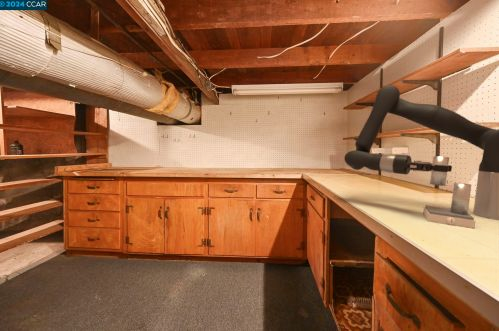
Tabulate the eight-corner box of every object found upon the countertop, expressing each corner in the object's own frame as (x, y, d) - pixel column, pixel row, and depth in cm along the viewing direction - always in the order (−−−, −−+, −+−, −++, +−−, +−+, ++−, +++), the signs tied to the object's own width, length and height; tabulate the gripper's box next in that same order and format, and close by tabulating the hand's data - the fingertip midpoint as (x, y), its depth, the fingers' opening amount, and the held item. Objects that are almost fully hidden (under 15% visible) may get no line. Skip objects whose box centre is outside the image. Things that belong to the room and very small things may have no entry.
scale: (423, 213, 91) (423, 204, 91) (464, 219, 85) (465, 210, 85) (427, 221, 80) (428, 211, 80) (475, 229, 74) (476, 218, 74)
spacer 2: (449, 210, 83) (452, 182, 82) (465, 212, 81) (469, 183, 80) (452, 213, 80) (455, 183, 79) (469, 215, 77) (473, 185, 76)
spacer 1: (428, 183, 88) (432, 156, 87) (444, 184, 85) (447, 157, 84) (430, 184, 84) (434, 156, 83) (446, 186, 82) (450, 157, 81)
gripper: (389, 154, 90) (446, 158, 77) (402, 154, 99) (455, 158, 86) (387, 173, 91) (443, 180, 78) (400, 172, 100) (453, 178, 87)
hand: (449, 168), depth 82 cm, fingers closed on spacer 1, 4 cm apart
